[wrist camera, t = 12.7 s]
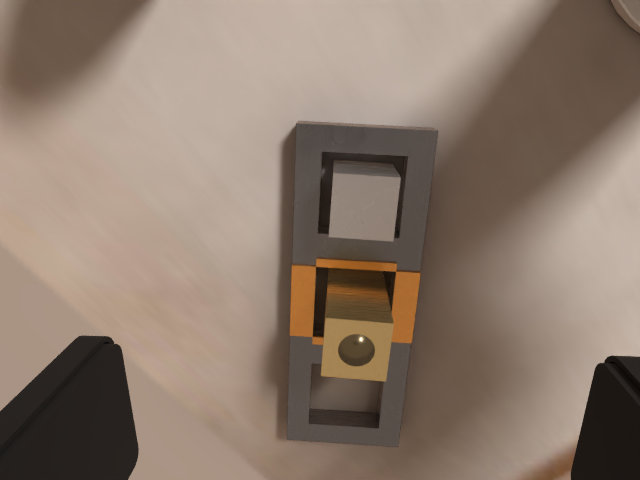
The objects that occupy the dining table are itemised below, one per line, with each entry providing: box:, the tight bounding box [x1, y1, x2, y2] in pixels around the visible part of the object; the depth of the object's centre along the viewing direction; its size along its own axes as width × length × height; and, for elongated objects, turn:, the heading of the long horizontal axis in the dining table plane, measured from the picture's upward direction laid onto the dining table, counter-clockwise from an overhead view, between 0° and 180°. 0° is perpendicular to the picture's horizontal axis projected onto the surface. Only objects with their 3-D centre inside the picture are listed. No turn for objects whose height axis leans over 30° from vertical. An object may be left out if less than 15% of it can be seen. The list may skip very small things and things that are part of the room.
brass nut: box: [321, 268, 394, 382], centre depth 32 cm, size 4×4×8 cm
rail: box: [287, 121, 438, 447], centre depth 35 cm, size 9×25×2 cm, turn 177°
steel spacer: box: [329, 160, 401, 242], centre depth 31 cm, size 4×4×5 cm
